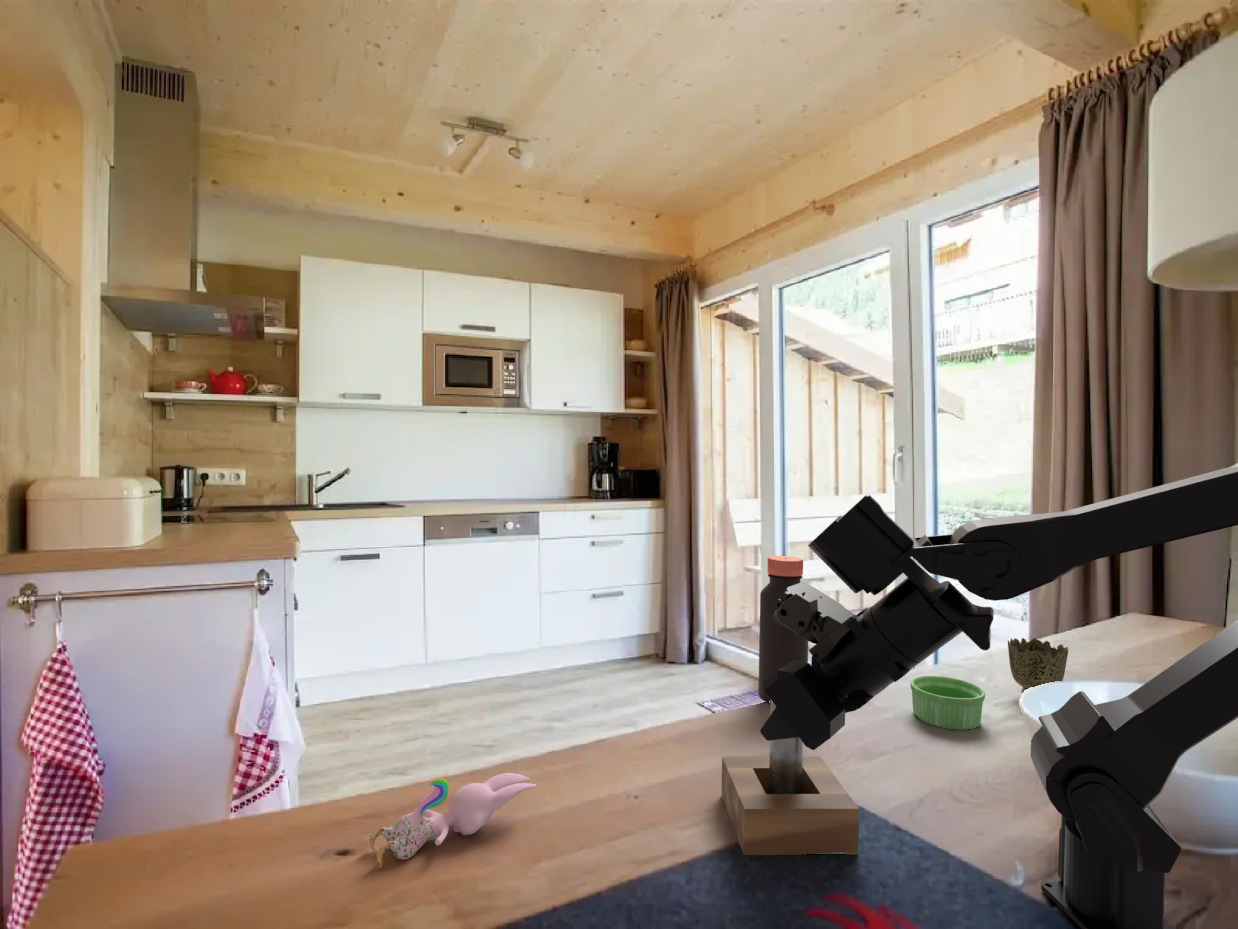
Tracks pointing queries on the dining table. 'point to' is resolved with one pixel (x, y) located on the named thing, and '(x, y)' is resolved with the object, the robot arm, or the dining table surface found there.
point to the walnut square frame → (788, 809)
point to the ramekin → (947, 702)
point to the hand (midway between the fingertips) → (772, 728)
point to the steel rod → (785, 764)
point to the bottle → (774, 638)
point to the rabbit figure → (449, 813)
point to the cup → (1036, 662)
